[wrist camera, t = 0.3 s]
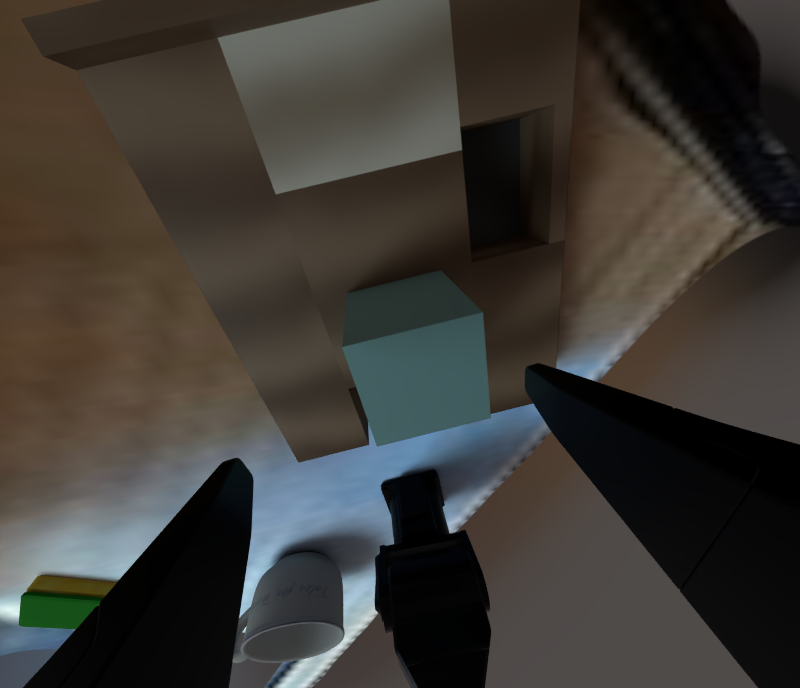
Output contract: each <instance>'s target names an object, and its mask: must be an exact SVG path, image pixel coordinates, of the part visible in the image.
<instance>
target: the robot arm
mask: <svg viewBox="0 0 800 688" xmlns="http://www.w3.org/2000/svg"><path fill="white" fill-rule="evenodd" d="M525 390H526V393H527V395H528V396H529V398H530V399H531V401H532V402H533V404H534V405H535V407H536V408H537V410H538V412H539V413H540V415H541V416H542V418H543V419H544V421H545V422H546V424H547V425H548V427H549V428H550V430H551V431H552V433H553V434H554V435H555V437H556V438H557V439H558V441H559V442H560V443H561V444H562V446H563V447H564V448H565V449H566V451H567V452H568V453H569V454H570V455H571V457H572V458H573V459H574V460H575V461H576V463H577V464H578V465H579V467H580V468H581V469H582V470H583V472H584V473H585V474H586V475H587V477H588V478H589V479H590V480H591V481H592V483H593V484H594V485H595V486H596V488H597V489H598V490H599V491H600V492H601V494H602V495H603V496H604V498H605V499H606V500H607V501H608V502H609V504H610V505H611V506H612V507H613V509H614V510H615V511H616V512H617V514H618V515H619V516H620V517H621V518H622V520H623V521H624V522H625V524H626V525H627V526H628V527H629V528H630V530H631V531H632V532H633V533H634V535H635V536H636V537H637V538H638V540H639V541H640V542H641V543H642V545H643V546H644V547H645V548H646V549H647V551H648V552H649V553H650V554H651V556H652V557H653V558H654V559H655V561H656V562H657V563H658V564H659V566H660V567H661V568H662V569H663V571H664V572H665V573H666V574H667V575H668V577H669V578H670V579H671V580H672V582H673V583H674V584H675V585H676V586H677V588H679V589H680V592H681V593H682V594H683V595H684V597H685V598H686V599H687V601H688V602H689V603H690V604H691V605H692V607H693V608H694V609H695V610H696V612H697V613H698V614H699V615H700V617H701V618H702V619H703V620H704V622H705V623H706V624H707V625H708V626H709V628H710V629H711V630H712V631H713V633H714V634H715V635H716V636H717V638H718V639H719V640H720V641H721V643H722V644H723V645H724V646H725V647H726V649H727V650H728V651H729V652H730V654H731V655H732V656H733V657H734V659H735V660H736V661H737V662H738V664H739V665H740V666H741V667H742V669H743V670H744V671H745V672H746V673H747V675H748V676H749V677H750V678H751V680H752V681H753V682H754V683H755V685H756V686H757V687H758V688H800V445H799V444H796V443H792V442H788V441H785V440H781V439H777V438H774V437H770V436H767V435H763V434H759V433H756V432H752V431H749V430H745V429H742V428H738V427H734V426H731V425H728V424H724V423H721V422H718V421H715V420H711V419H708V418H705V417H702V416H699V415H695V414H692V413H689V412H686V411H683V410H680V409H677V408H674V409H673V407H671V406H668V405H665V404H662V403H658V402H656V401H653V400H650V399H647V398H644V397H641V396H638V395H635V394H631V393H628V392H625V391H622V390H619V389H616V388H613V387H610V386H607V385H604V384H601V383H598V382H595V381H592V380H589V379H586V378H583V377H580V376H577V375H574V374H571V373H568V372H565V371H562V370H559V369H556V368H553V367H550V366H547V365H544V364H541V363H536V364H533V365H529V366H527V367H526V368H525ZM381 490H382V493H383V495H384V498H385V501H386V503H387V506H388V508H389V511H390V514H391V518H392V527H393V537H394V544H393V545H388V546H385V545H382V546H380V553H379V555H377V556H376V557H375V568H376V585H375V610H376V611H377V612H378V613H379V614H380V615H381V617H382V622H384V626H385V631H386V633H388V632H393V637H394V647H395V652H396V655H397V658H398V661H399V664H400V667H401V669H402V671H403V673H404V675H405V677H406V679H407V681H408V683H409V684H410V686H411V688H485V681H486V672H487V663H488V655H489V646H490V638H491V628H490V623H489V620H488V616H487V612H488V611H490V602H489V596H488V591H487V587H486V583H485V580H484V576H483V573H482V570H481V568H480V565H479V562H478V560H477V557H476V555H475V553H474V550H473V547H472V545H471V542H470V540H469V538H468V535H467V533H466V530H461V531H460V532H456V533H451V534H449V530H448V526H447V522H446V519H445V515H444V511H443V508H442V507H443V506H444V505H445V504H444V499H443V495H442V490H441V486H440V481H439V477H438V473H437V471H436V470H432V471H428V472H424V473H420V474H416V475H412V476H408V477H404V478H400V479H397V480H393V481H389V482H385V483H382V484H381ZM252 507H253V476H252V474H251V473H250V471H249V470H248V469H247V467H246V466H245V465H244V463H243V462H242V461H241V460H240V459H239V458H233V459H230V460H227V461H224V462H222V463H221V464H220V465H219V466H218V468H217V469H216V470H215V471H214V472H213V473H212V474H211V476H210V477H209V478H208V479H207V480H206V481H205V482H204V484H203V485H202V486H201V487H200V488H199V489H198V490H197V492H196V493H195V494H194V495H193V496H192V497H191V498H190V500H189V501H188V502H187V503H186V504H185V505H184V506H183V508H182V509H181V510H180V511H179V512H178V513H177V514H176V516H175V517H174V518H173V519H172V520H171V521H170V523H169V524H168V525H167V526H166V527H165V528H164V529H163V531H162V532H161V533H160V534H159V535H158V536H157V537H156V539H155V540H154V541H153V542H152V543H151V544H150V545H149V547H148V548H147V549H146V550H145V551H144V552H143V553H142V555H141V556H140V557H139V558H138V559H137V560H136V561H135V563H134V564H133V565H132V566H131V567H130V568H129V569H128V571H127V572H126V573H125V574H124V575H123V576H122V577H121V579H120V580H119V581H118V582H117V583H116V584H115V585H114V587H113V588H112V589H111V590H110V591H109V592H108V593H107V594H106V596H105V597H104V598H103V599H102V600H101V601H100V603H99V606H96V607H95V608H94V609H93V610H92V612H91V613H90V614H89V615H88V616H87V617H86V618H85V620H84V621H83V622H82V623H81V624H80V625H79V626H78V628H77V629H76V630H75V631H74V632H73V633H72V634H71V635H70V637H69V638H68V639H67V640H66V641H65V642H64V643H63V644H62V645H61V647H60V648H59V649H58V650H57V651H56V652H55V653H54V655H53V656H52V657H51V658H50V659H49V660H48V661H47V662H46V663H45V664H44V665H43V667H42V668H41V669H40V670H39V671H38V672H37V673H36V674H35V675H34V676H33V677H32V678H31V679H30V681H29V682H28V683H27V684H26V685H25V686H24V687H23V688H229V682H230V675H231V669H232V662H233V655H234V648H235V642H236V635H237V628H238V621H239V615H240V608H241V601H242V594H243V588H244V581H245V574H246V567H247V561H248V554H249V547H250V540H251V529H252Z"/></svg>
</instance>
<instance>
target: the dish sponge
mask: <svg viewBox="0 0 800 688" xmlns="http://www.w3.org/2000/svg"><path fill="white" fill-rule="evenodd" d="M115 584H116V582H105V581H95V580H85V579H74V578H64V577H53V576H43V575H41V576H38V577H37V578H36V579H35V580H34V581H33V583H32V584H31V585H30V586H29V588H28V589H27V592H25V593H24V594H23V595H22V596H21V604H20V616H19V625H20V626H24V627H43V628H63V629H77V628H78V626H79V625H80V624H81V623H82V622H83V621H84V620H85V618H86V617H87V616H88V615H89V614H90V613H91V612H92V610H93V609H94V608H95V607H96V606H99V603H100V601H101V600H102V599H103V598H104V597H105V596H106V594H107V593H108V592H109V591H110V590H111V589H112V588H113V587H114V585H115Z"/></svg>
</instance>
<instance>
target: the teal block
mask: <svg viewBox="0 0 800 688" xmlns="http://www.w3.org/2000/svg"><path fill="white" fill-rule="evenodd" d="M342 349H343V351H344V354H345V357H346V360H347V363H348V366H349V368H350V371H351V374H352V377H353V380H354V383H355V385H356V388H357V391H358V394H359V397H360V399H361V402H362V405H363V408H364V411H365V414H366V416H367V419H368V422H369V425H370V428H371V431H372V433H373V436H374V439H375V442H376V445H377V446H381V445H385V444H389V443H393V442H397V441H401V440H405V439H409V438H413V437H417V436H421V435H425V434H429V433H433V432H437V431H441V430H445V429H448V428H452V427H456V426H460V425H464V424H468V423H472V422H476V421H480V420H484V419H488V418H491V414H490V401H489V387H488V374H487V360H486V347H485V333H484V319H483V312H482V311H481V310H480V309H479V308H478V307H477V306H476V305H475V304H474V303H473V302H472V301H471V300H470V299H469V298H468V297H467V296H466V295H465V294H464V293H463V292H462V291H461V290H460V289H459V288H458V287H457V286H456V285H455V284H454V283H453V282H452V281H451V280H450V279H449V278H448V277H447V276H446V275H445V274H444V273H443V272H442V271H441V270H440V271H435V272H431V273H427V274H423V275H419V276H415V277H411V278H407V279H403V280H399V281H395V282H390V283H386V284H382V285H378V286H374V287H370V288H366V289H362V290H358V291H354V292H350V293H347V297H346V308H345V319H344V330H343V341H342Z"/></svg>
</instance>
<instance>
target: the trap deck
mask: <svg viewBox="0 0 800 688" xmlns="http://www.w3.org/2000/svg"><path fill="white" fill-rule="evenodd" d="M579 14H580V0H103V1H99V2H94V3H90V4H85V5H81V6H77V7H72V8H68V9H63V10H59V11H55V12H50V13H46V14H41V15H37V16H33V17H28V18H24V19H21V20H22V22H23V23H24V25H25V27H26V28H27V30H28V32H29V33H30V35H31V37H32V38H33V40H34V42H35V43H36V45H37V47H38V49H39V50H40V52H41V54H42V55H43V56H44V57H46V58H48V59H51V60H53V61H56V62H58V63H60V64H63V65H65V66H68V67H70V68H73V69H75V70H77V72H78V74H79V75H80V77H81V79H82V81H83V82H84V84H85V86H86V88H87V89H88V91H89V93H90V95H91V96H92V98H93V100H94V102H95V104H96V105H97V107H98V109H99V111H100V112H101V114H102V116H103V118H104V119H105V121H106V123H107V125H108V127H109V128H110V130H111V132H112V134H113V135H114V137H115V139H116V141H117V142H118V144H119V146H120V148H121V149H122V151H123V153H124V155H125V157H126V158H127V160H128V162H129V164H130V165H131V167H132V169H133V171H134V172H135V174H136V176H137V178H138V180H139V181H140V183H141V185H142V187H143V188H144V190H145V192H146V194H147V195H148V197H149V199H150V201H151V202H152V204H153V206H154V208H155V210H156V211H157V213H158V215H159V217H160V218H161V220H162V222H163V224H164V225H165V227H166V229H167V231H168V233H169V234H170V236H171V238H172V240H173V241H174V243H175V245H176V247H177V248H178V250H179V252H180V254H181V255H182V257H183V259H184V261H185V263H186V264H187V266H188V268H189V270H190V271H191V273H192V275H193V277H194V278H195V280H196V282H197V284H198V286H199V287H200V289H201V291H202V293H203V294H204V296H205V298H206V300H207V301H208V303H209V305H210V307H211V309H212V310H213V312H214V314H215V316H216V317H217V319H218V321H219V323H220V324H221V326H222V328H223V330H224V331H225V333H226V335H227V337H228V339H229V340H230V342H231V344H232V346H233V347H234V349H235V351H236V353H237V354H238V356H239V358H240V360H241V362H242V363H243V365H244V367H245V369H246V370H247V372H248V374H249V376H250V377H251V379H252V381H253V383H254V384H255V386H256V388H257V390H258V392H259V393H260V395H261V397H262V399H263V400H264V402H265V404H266V406H267V407H268V409H269V411H270V413H271V415H272V416H273V418H274V420H275V422H276V423H277V425H278V427H279V429H280V430H281V432H282V434H283V436H284V437H285V439H286V441H287V443H288V445H289V446H290V448H291V450H292V452H293V453H294V455H295V457H296V459H297V460H298V462H303V461H307V460H310V459H314V458H318V457H322V456H326V455H330V454H334V453H338V452H342V451H346V450H350V449H354V448H358V447H362V446H366V445H369V435H368V419H367V416H366V414H365V411H364V408H363V405H362V402H361V399H360V397H359V394H358V391H357V388H356V385H355V383H354V380H353V377H352V374H351V371H350V368H349V366H348V363H347V360H346V357H345V354H344V351H343V349H342V341H343V330H344V319H345V308H346V297H347V293H350V292H354V291H358V290H362V289H366V288H370V287H374V286H378V285H382V284H386V283H390V282H395V281H399V280H403V279H407V278H411V277H415V276H419V275H423V274H427V273H431V272H435V271H440V270H441V271H442V272H443V273H444V274H445V275H446V276H447V277H448V278H449V279H450V280H451V281H452V282H453V283H454V284H455V285H456V286H457V287H458V288H459V289H460V290H461V291H462V292H463V293H464V294H465V295H466V296H467V297H468V298H469V299H470V300H471V301H472V302H473V303H474V304H475V305H476V306H477V307H478V308H479V309H480V310H481V311H482V312H483V319H484V333H485V347H486V360H487V374H488V387H489V401H490V414H493V413H497V412H501V411H505V410H508V409H512V408H516V407H520V406H524V405H528V404H532V403H533V402H532V401H531V399H530V398H529V396H528V395H527V393H526V390H525V368H526V367H527V366H529V365H533V364H536V363H541V364H544V365H547V366H550V367H553V368H556V360H557V345H558V330H559V315H560V300H561V285H562V270H563V255H564V240H565V225H566V210H567V194H568V179H569V164H570V149H571V134H572V119H573V104H574V89H575V74H576V59H577V44H578V29H579Z"/></svg>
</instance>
